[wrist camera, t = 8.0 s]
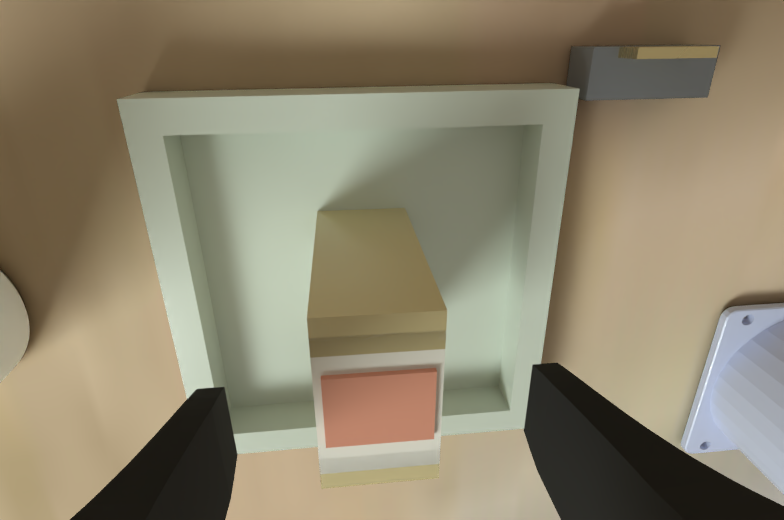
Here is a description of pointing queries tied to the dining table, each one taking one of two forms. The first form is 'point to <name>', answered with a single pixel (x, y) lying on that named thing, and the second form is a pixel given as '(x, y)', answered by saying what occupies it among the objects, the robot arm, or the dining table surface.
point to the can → (11, 326)
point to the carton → (375, 349)
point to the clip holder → (642, 71)
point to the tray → (351, 192)
